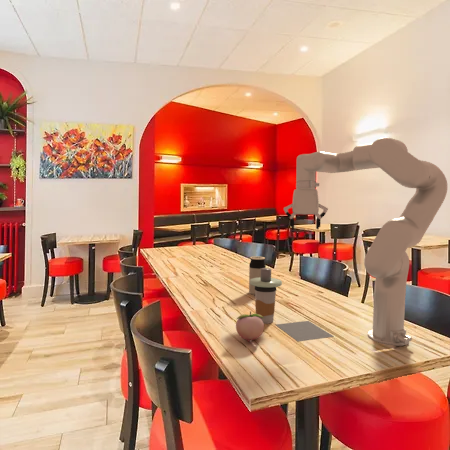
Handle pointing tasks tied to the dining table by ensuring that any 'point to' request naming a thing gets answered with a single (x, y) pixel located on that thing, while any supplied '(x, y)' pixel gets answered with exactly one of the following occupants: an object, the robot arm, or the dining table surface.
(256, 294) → the coffee cup
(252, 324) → the decorative fruit
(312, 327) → the mat
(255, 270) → the travel mug
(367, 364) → the dining table surface
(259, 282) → the lid
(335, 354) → the dining table surface
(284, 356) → the dining table surface
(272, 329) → the dining table surface
